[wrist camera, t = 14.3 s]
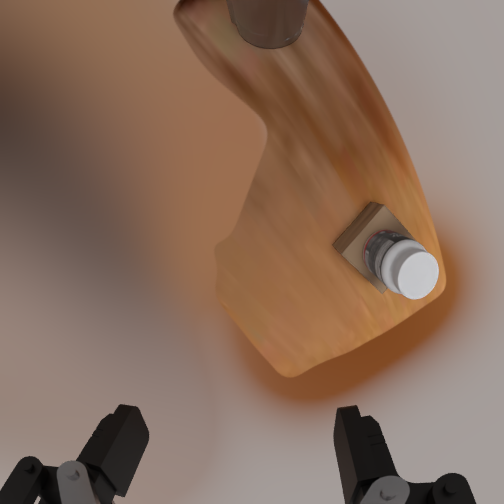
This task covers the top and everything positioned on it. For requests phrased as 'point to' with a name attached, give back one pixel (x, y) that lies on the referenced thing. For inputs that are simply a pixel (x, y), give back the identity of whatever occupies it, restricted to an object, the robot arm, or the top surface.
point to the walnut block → (359, 233)
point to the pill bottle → (401, 263)
